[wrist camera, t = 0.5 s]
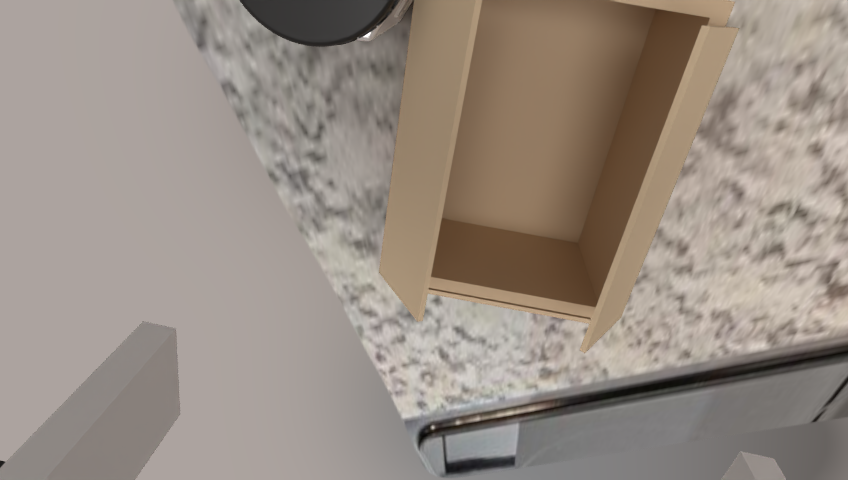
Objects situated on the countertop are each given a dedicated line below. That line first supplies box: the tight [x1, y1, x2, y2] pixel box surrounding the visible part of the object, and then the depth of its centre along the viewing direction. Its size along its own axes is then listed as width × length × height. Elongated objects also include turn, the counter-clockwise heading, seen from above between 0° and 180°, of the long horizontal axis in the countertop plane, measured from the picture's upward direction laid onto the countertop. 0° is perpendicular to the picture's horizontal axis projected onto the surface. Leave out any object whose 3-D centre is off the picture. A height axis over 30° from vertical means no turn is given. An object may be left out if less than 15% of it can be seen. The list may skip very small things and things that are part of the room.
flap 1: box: [379, 0, 482, 322], centre depth 26 cm, size 16×5×1 cm
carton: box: [428, 0, 735, 324], centre depth 32 cm, size 19×14×9 cm
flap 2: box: [580, 25, 739, 353], centre depth 25 cm, size 16×5×1 cm
